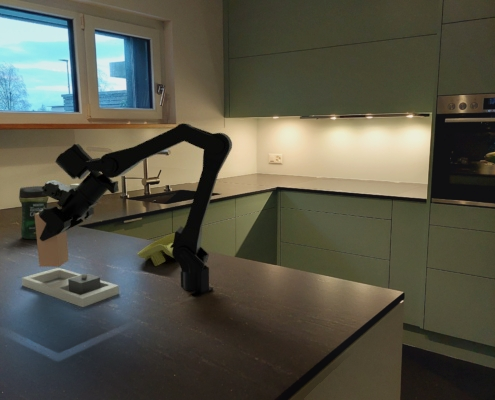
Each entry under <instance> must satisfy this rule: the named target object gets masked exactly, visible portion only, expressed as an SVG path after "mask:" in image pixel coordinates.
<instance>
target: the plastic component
mask: <svg viewBox="0 0 495 400" xmlns="http://www.w3.org/2000/svg"><path fill="white" fill-rule="evenodd" d="M174 236H175V233H170V234H167V235H166V236H164V237H162V238H160V239H157V240H155V241H154V242H152V243H150V244H148V245H147V246H145V247H144V248H143V249H141V250H140V251H139V252H138V253H137V255H138V257H140V258H141V259H144V260H149V259H151V261H152V263H153V265H154V266H155V267H156V266H159V265H161V264H163V263H165V262H166V258H165V257H164V254H166V255H168V256H169V257H171V258H173V259H174V257H173V256H172V250H173V248H170V247H171V245H172V244H173V242H174ZM163 253H164V254H163Z"/></svg>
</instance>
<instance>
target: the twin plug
mask: <svg viewBox="0 0 495 400" xmlns="http://www.w3.org/2000/svg"><path fill="white" fill-rule="evenodd" d="M81 274H82V275H80V276H77V277H74V278H70V279H68V284H69V291H70V292H73V293H76V294H78V295H82V294H85V293H88V292H91V291H94V290H97V289H100V280H101V277H100V276H96V275H93V274H90V273H84V274H83V273H81Z"/></svg>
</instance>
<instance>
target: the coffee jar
mask: <svg viewBox="0 0 495 400" xmlns="http://www.w3.org/2000/svg"><path fill="white" fill-rule="evenodd" d="M43 186H44V185H42V186H40V185H39V186H38V185H37V186H36V185H35V186H34V185H33V186H25V187H24V186H23V187H20V189H19V195H18V199H19V202H20V204H21V228H20V229H21V231H20V232H21V237H22V238H23V239H26V240H37V235H36V225H35V214H36V213H38V212H39V211H40V210H42V209H45V208H48V200H49V198H50V197H49V196H45V195H43V194H42V193H43V189H42V187H43Z"/></svg>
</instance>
